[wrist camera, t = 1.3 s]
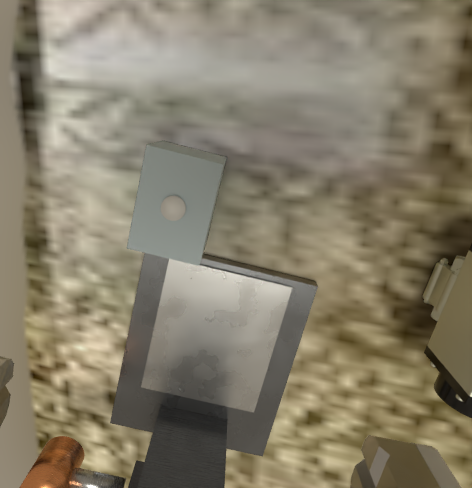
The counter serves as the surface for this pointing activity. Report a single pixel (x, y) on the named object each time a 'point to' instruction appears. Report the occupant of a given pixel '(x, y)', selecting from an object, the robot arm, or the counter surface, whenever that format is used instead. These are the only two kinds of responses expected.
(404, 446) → the robot arm
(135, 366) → the press
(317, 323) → the counter surface
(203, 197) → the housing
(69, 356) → the counter surface
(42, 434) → the counter surface
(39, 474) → the lever
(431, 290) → the pneumatic valve
